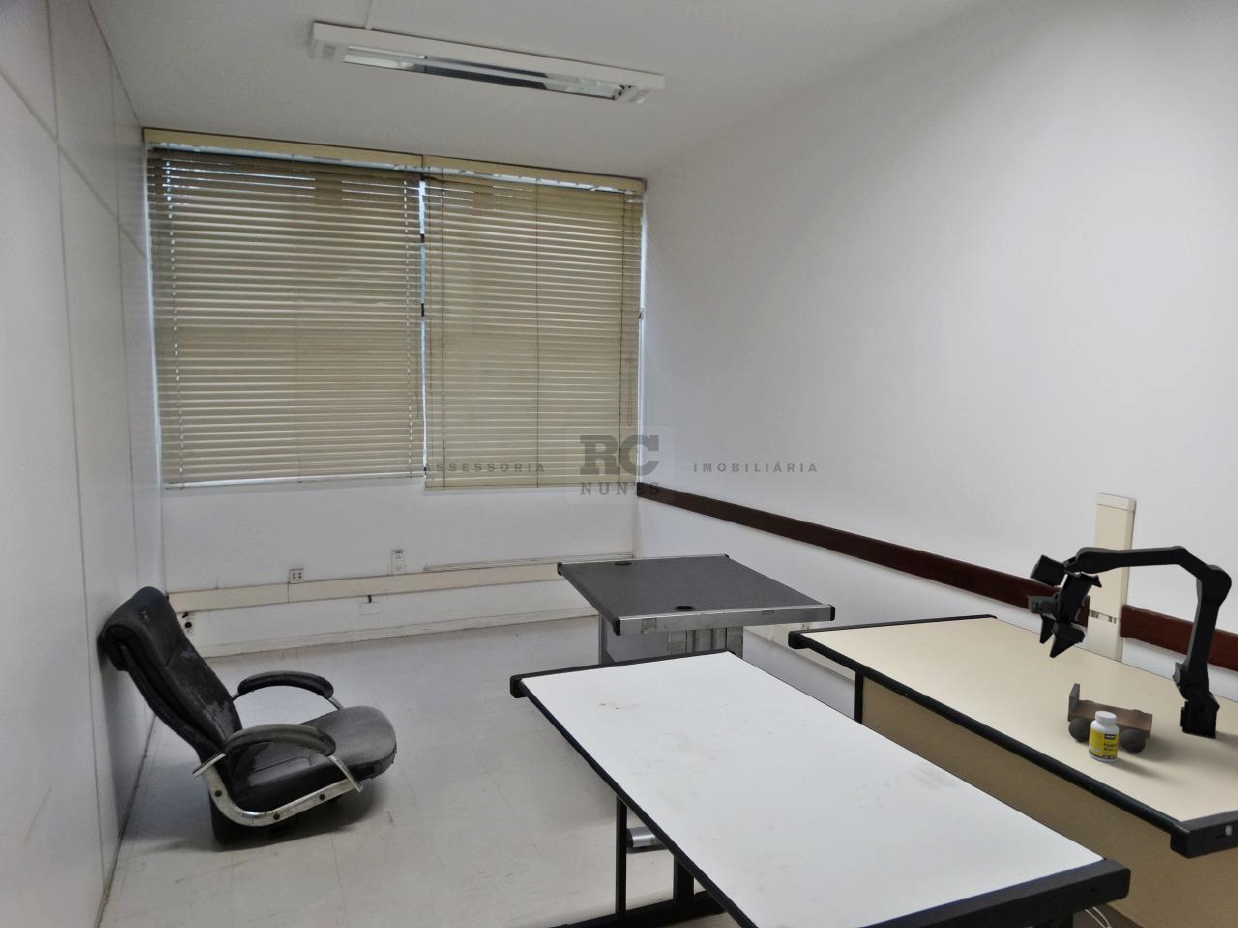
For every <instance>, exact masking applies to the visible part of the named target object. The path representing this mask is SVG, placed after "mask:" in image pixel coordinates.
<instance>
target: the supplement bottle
mask: <svg viewBox="0 0 1238 928" xmlns="http://www.w3.org/2000/svg"><path fill="white" fill-rule="evenodd" d="M1116 718H1117V717H1116V715H1115V714H1113V713H1110V712H1106V711H1097V712H1096V713H1095V719H1096V720H1095V721H1093V722H1092V723H1091V728H1090V740H1089V741H1088V742H1089V743H1088V744H1089V746H1088V754H1089V756H1090V757H1091V758H1093V759H1095V760H1098V761H1100V762H1105V763H1113V762H1116V761H1117V760H1118V752H1119V751H1118V750H1119V737H1120V733H1119V728H1118V726H1117V725H1116V724H1115V723H1116Z"/></svg>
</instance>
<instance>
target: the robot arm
mask: <svg viewBox="0 0 1238 928" xmlns="http://www.w3.org/2000/svg"><path fill="white" fill-rule="evenodd" d="M1171 565H1173V566H1174V565H1176V566H1177V565H1178V566H1180V568H1182V569H1184V570H1185V571H1186V572H1188V573H1189V574H1190V575H1191V576H1193V577H1194V578H1196V579H1195V580H1196V581H1195V585H1196V586H1195V587H1196V596H1197V604H1196V610H1195V614H1194V619H1193V625H1192V628H1191V632H1190V633H1191V634H1190V639H1189V645H1188V648H1187V649H1188V650H1187V653H1186V657H1185V660H1183V662H1182V663H1180V662H1177V661H1176V662H1175V664H1174V673H1173V675H1172V677H1171V678H1172V680H1173V681H1174V684H1175V687H1176V689H1177V690H1178V692H1179V694H1180V695H1181V697H1182V698H1183V699H1184V704H1183V706H1181V707H1180V718H1179V727H1181V732H1182V733H1186V734H1191V735H1196V736H1202V737H1206V738H1211V739H1216V738H1217V719H1218V718H1217V717H1218V711H1219V710H1220V708H1221V705H1220V704H1219V703H1218V702H1219V701H1218V700H1217V699H1216V697H1215V696H1214V694H1213V693H1212V692H1211V691H1210V679H1209V677H1210V676H1209V669H1208V667H1209V660H1210V654H1211V649H1212V646H1213V645H1212V644H1213V640H1214V635H1215V631H1216V627H1217V620H1218V616H1219V612H1220V608H1221V606H1222V605H1223V604H1224V602H1225V600H1226V599H1227V597H1228V595H1229V592H1230V591H1231V588H1232V586H1233V580H1232V577H1231V576H1230V575H1229V574H1228V573H1227V572H1226V571H1225V570H1224V569H1223V567H1220V566H1219V565H1215V564H1207V562H1205V561H1203V559H1201V558H1200V557H1198V556H1196V555H1194V554H1193V553H1191V552H1190V551H1189V550H1188V549H1186V548H1185V547H1184V546H1181V545H1174V546H1169V547H1167V546H1165V547H1150V548H1135V549H1121V550H1120V549H1118V550H1117V549H1109V548H1103V547H1093V546H1092V547H1091V546H1085V547H1082V548H1080V549H1079V550H1078V551H1076V554H1075V555H1073V556H1071V557H1069V558H1067V559H1065V560H1064V561H1062V562H1061V561H1059V560H1056V559H1053V558H1051V557H1049V555H1045V554H1041V555H1040V557H1039V558H1038V560H1037V562H1036V563H1035V564H1034V565H1033V568H1032V570H1031V573H1030V576H1029V579H1030V580H1033V581H1036V582H1037V583H1040V584H1043V585H1046V586H1047V587H1051V588H1054V587H1058V586H1061V585H1062V586H1061V588H1060V589H1059V592H1058V591H1056V592H1054V593H1053V595H1052V596H1043V595H1029V596H1028V610H1029V611H1030V612H1031V614H1035V615H1038V616H1039V618H1040V619H1041V626H1040V634H1039V640H1038V642H1039V644H1042V645H1045V643H1047V642H1048V640H1050V638H1052V636H1054V639H1053V641H1052V643H1051V644H1052V645H1051V648H1050V651H1049V652H1050V653H1049V658H1051V659H1055V658H1057V657H1058V656H1059V655H1061V654H1063V653H1064V652H1065V651H1068V649H1070V648H1071V647H1073V646H1075V645H1078V644H1080V643H1084V640H1085V638H1086V634H1085V632H1084V630H1083V629H1082V628H1081V627H1080V626H1079V625H1078V623H1079V620H1078V615H1079V614H1080V612H1081V610H1082V611H1084V610H1085V608H1086V605H1085V604H1084V603H1085V601H1086V598H1087V597H1088V595H1089V592H1090V590H1091V589H1092V586H1094V587H1096V588H1098V589H1099V588H1100V589H1101V588H1102V587H1103V585H1102V583H1101V581H1100V577H1099V575H1098V574H1100V573H1101V574H1103V573H1105V572H1109V571H1112V570H1115V569H1121V568H1132V567H1133V568H1134V567H1135V568H1136V567H1151V566H1153V567H1155V566H1171ZM1065 576H1066V577H1065ZM1064 578H1065V579H1064ZM1063 581H1064V582H1063ZM1062 583H1063V584H1062Z"/></svg>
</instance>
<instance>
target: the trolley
mask: <svg viewBox="0 0 1238 928" xmlns="http://www.w3.org/2000/svg"><path fill="white" fill-rule="evenodd" d="M1080 691H1081V684H1080V683H1076V682H1074V683H1073V686H1072V688H1071V690H1070V693H1069V695H1068V708H1067V710H1068V711H1067V721H1066V722H1068V723H1069V724H1068V733H1069V735H1070V736H1071V738H1073V739H1074V740H1076V741H1078V742H1089V741H1090V728H1091V723H1092V722H1093V721H1095V720H1096V719H1095V713H1096V712H1097V711H1106V712H1110V713H1113V714H1115V715H1116V717H1117V718H1116V723H1115V724H1116V725H1117V726H1118V728H1119V741H1118V743H1119V744H1120V746H1121V749H1123V750H1124V751H1126V752H1128V753H1131V754H1140V753H1142V752H1144V750H1145V749H1146V747H1147V740H1150V736H1151V730H1152V726H1153V725H1152V723H1153V714H1152V713H1148V712H1145V711H1142V710H1139V709H1128V708H1122V707H1119V706H1115V705H1114V706H1113V705H1110V704H1109V705H1108V704H1104V703H1099V702H1095V701H1094V700H1090V699H1080V695H1081V693H1080Z"/></svg>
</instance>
